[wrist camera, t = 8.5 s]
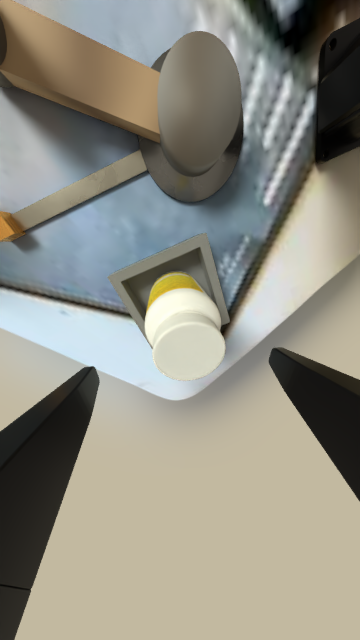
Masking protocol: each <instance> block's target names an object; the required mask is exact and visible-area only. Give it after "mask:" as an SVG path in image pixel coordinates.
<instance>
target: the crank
mask: <svg viewBox="0 0 360 640" xmlns="http://www.w3.org/2000/svg"><path fill="white" fill-rule="evenodd" d="M0 86H1V87H13V86H16V87H18V88H21V89H23V90H26V91H28V92H31V93H33V94H36V95H39V96H41V97H44V98H46V99H49V100H51V101H54V102H56V103H59V104H61V105H64V106H66V107H69V108H71V109H74V110H77V111H79V112H82V113H84V114H87V115H89V116H92V117H94V118H97V119H99V120H102V121H104V122H107V123H109V124H112V125H115V126H117V127H120V128H122V129H125V130H127V131H130V132H132V133H135V134H137V135H140V136H142V137H145V138H148V139H150V140H153V141H155V142H158V143H160V145H161V148H162V151H163V153H164V156H165V157H166V159H167V161H168V162H169V164H170V165H171V166H172V167H173V168H174V169H175V170H176V171H177V172H179V173H180V174H182V175H184V176H188V177H197V176H201V175H203V174H205V173H206V172H208V171H209V170H210V169H211V168H212V167H213V166H214V165H215V163H216V162H217V161H218V159H219V158H220V156H221V155H222V153H223V152H224V151H225V149H226V148H227V146H228V145H229V143H230V142H231V140H232V138H233V136H234V133H235V131H236V128H237V125H238V121H239V117H240V110H241V84H240V78H239V73H238V70H237V66H236V64H235V61H234V59H233V57H232V55H231V53H230V51H229V50H228V48H227V47H226V45H225V44H224V43H223V42H222V41H221V40H220V39H219V38H217V37H216V36H214V35H213V34H210V33H208V32H203V31H195V32H191V33H188V34H186V35H184V36H183V37H182V38H180V39H179V40H178V41H177V42H176V43H175V44H174V45H173V46H172V48H171V49H170V51H169V52H168V54H167V56H166V58H165V60H164V63H163V66H162V69H161V73H160V72H158V71H156V70H154V69H151V68H149V67H147V66H145V65H143V64H141V63H139V62H137V61H135V60H133V59H131V58H129V57H127V56H125V55H123V54H121V53H119V52H117V51H115V50H113V49H111V48H109V47H107V46H105V45H102V44H100V43H98V42H96V41H94V40H92V39H90V38H88V37H86V36H84V35H82V34H80V33H78V32H76V31H74V30H72V29H70V28H68V27H66V26H64V25H62V24H60V23H58V22H56V21H54V20H51V19H49V18H47V17H45V16H43V15H41V14H39V13H37V12H35V11H33V10H31V9H29V8H27V7H25V6H23V5H21V4H19V3H17V2H15V1H13V0H0Z"/></svg>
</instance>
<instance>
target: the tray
mask: <svg viewBox="0 0 360 640" xmlns="http://www.w3.org/2000/svg"><path fill="white" fill-rule="evenodd" d="M170 271H182V272H185V273H187V274H189V275H191V276H192V277H193V278H194V279H195V280H196V281H197V282H198V284H199V285H200V286H201V287H202V289H203V290H204V291H205V292H206V294H207V295H208V296H209V297H210V298H211V299H212V301H213V302H214V303H215V305H216V306H217V308H218V310H219V313H220V317H221V325H224V324H227V323H229V322H230V320H229V316H228V312H227V309H226V305H225V301H224V297H223V293H222V290H221V286H220V282H219V278H218V275H217V271H216V267H215V263H214V260H213V256H212V252H211V248H210V245H209V241H208V237H207V233H202V234H198V235H196V236H194V237H192V238H189V239H187V240H185V241H183V242H181V243H178V244H176V245H174V246H172V247H169V248H167V249H165V250H163V251H160V252H158V253H156V254H154V255H151V256H149V257H147V258H145V259H143V260H140V261H138V262H136V263H134V264H131V265H129V266H127V267H125V268H122V269H120V270H118V271H116V272H114V273H112V274H111V275H109V276H108V279H109V281H110V282H111V284H112V285H113V287H114V289H115V290H116V292H117V293H118V295H119V297H120V298H121V300H122V301H123V303H124V305H125V306H126V308H127V309H128V311H129V313H130V314H131V316H132V317H133V319H134V321H135V322H136V324H137V325H138V327H139V329H140V330H141V332H142V333H143V335H144V337H145V338H146V340H147V341H148V339H147V337H146V333H145V316H146V311H147V306H148V301H149V296H150V291H151V288H152V286H153V284H154V283H155V281H156V280H157V279H158V278H159V277H160V276H161V275H163V274H165V273H167V272H170ZM148 343H149V341H148ZM149 345H150V346H151V344H150V343H149ZM151 348H152V349H153V347H152V346H151Z"/></svg>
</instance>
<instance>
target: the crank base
mask: <svg viewBox="0 0 360 640" xmlns="http://www.w3.org/2000/svg"><path fill="white" fill-rule="evenodd" d="M170 49H171V48H170ZM170 49H169V50H167V51H166V52H164V53H163V54H162V55H161V56H160V57H159V58H158V59H157V60H156V61H155V63H154V64H153V65H152V67H151V69H154V70H156V71H158V72H160V73H161V69H162V66H163V63H164V60H165V58H166V56H167V54H168V52H169V51H170ZM242 137H243V110H242V104H241V110H240V117H239V121H238V125H237V128H236V131H235V133H234V136H233V138H232V140H231V142H230V143H229V145H228V146H227V148H226V149H225V151H224V152H223V153H222V155H221V156H220V158H219V159H218V161H217V162H216V163H215V165H214V166H213V167H212V168H211V169H210V170H209V171H208V172H206V173H205V174H203V175H201V176H197V177H188V176H184V175H182V174H180V173H179V172H177V171H176V170H175V169H174V168H173V167H172V166H171V165H170V164H169V162H168V161H167V159H166V157H165V156H164V153H163V151H162V148H161V145H160V143H158V142H155V141H153V140H150V139H148V138H145V137H142V136H140V135H138V141H139V145H140V150H141V152H140V150H138V151H136V152H134V153H132V154H130V155H128V156H126V157H124V158H122V159H120V160H118V161H116V162H114V163H112V164H110V165H109V166H107V167H105V168H103V169H101V170H99V171H97V172H95V173H93V174H91V175H89V176H87V177H85V178H83V179H81V180H79V181H77V182H75V183H73V184H71V185H69V186H67V187H65V188H63V189H61V190H59V191H57V192H55V193H53V194H51V195H49V196H47V197H45V198H43V199H42V200H40V201H38V202H36V203H34V204H32V205H30V206H28V207H26V208H24V209H22V210H20V211H18V212H16V213H14V214H12V215H11V214H10V213H7V212H2V211H0V242H11V241H13V240H15V239H17V238H19V237H21V236H23V235H25V234H26V233H25V232H24V231H26V230H28V229H30V228H32V227H34V226H36V225H38V224H40V223H42V222H44V221H46V220H48V219H51V218H53V217H55V216H57V215H59V214H61V213H63V212H65V211H67V210H69V209H71V208H73V207H75V206H77V205H79V204H81V203H83V202H85V201H87V200H89V199H91V198H93V197H95V196H97V195H99V194H101V193H103V192H105V191H107V190H109V189H111V188H113V187H115V186H117V185H119V184H121V183H123V182H125V181H127V180H129V179H131V178H133V177H135V176H138V175H140V174H142V173H144V172H146V171H147V170H148V172H149V173H150V175H151V177H152V178H153V180H154V181H155V183H156V184H157V185H158V186H159V187H160V188H161V189H162V190H163V191H164V192H165V193H166V194H168V195H169V196H171V197H173V198H175V199H177V200H180V201H184V202H197V201H201V200H204V199H206V198H208V197H210V196H211V195H213V194H214V193H215V192H217V191H218V190H219V189H220V188H221V187H222V186H223V185H224V183H225V182H226V181H227V179H228V178H229V176H230V175H231V173H232V171H233V169H234V167H235V165H236V162H237V159H238V156H239V153H240V149H241V144H242ZM146 167H147V168H146Z"/></svg>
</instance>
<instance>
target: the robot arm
mask: <svg viewBox="0 0 360 640" xmlns="http://www.w3.org/2000/svg"><path fill="white" fill-rule="evenodd" d="M329 45H330V46H331V51H330V50H329ZM359 146H360V18H359V19H357V20H355V21H353V22H351V23H350V24H348V25H346V26H344V27H342V28H340V29H338V30H336V31H334V32H333V33H332V34H330V36H329V37H328V38H327V39H326V41H325V42H324V43H323V45H322V47H321V50H320V64H319V91H318V119H317V146H316V162H317V163H318V164H322V163H324V162H326V161H328V160H330V159H333V158H335V157H337V156H339V155H341V154H344V153H346V152H348V151H350V150H352V149H355V148H357V147H359ZM324 153H325V156H324V157H323V154H324ZM269 364H270V366H271V368H272V370H273V372H274V373H275V375H276V377H277V378H278V381H279V382H280V384H281V386H282V388H283V389H284V391H285V392H286V394H287V396H288V397H289V399H290V400H291V401H292V403H293V405H294V406H295V407H296V409H297V410H298V412H299V413H300V415H301V416H302V418H303V419H304V421H305V422H306V424H307V425H308V426H309V428H310V429H311V431H312V432H313V434H314V435H315V437H316V438H317V440H318V441H319V443H320V444H321V445H322V447H323V448H324V450H325V451H326V453H327V454H328V456H329V457H330V459H331V460H332V462H333V463H334V465H335V466H336V467H337V469H338V470H339V472H340V473H341V475H342V476H343V478H344V479H345V481H346V482H347V484H348V485H349V487H350V488H351V489H352V491H353V492H354V493H355V495H356V497H357V498H358V500H359V501H360V380H358V379H356V378H353V377H351V376H349V375H347V374H344V373H341V372H339V371H337V370H334V369H332V368H330V367H327V366H325V365H323V364H320V363H318V362H315V361H313V360H311V359H308V358H306V357H304V356H301V355H299V354H296V353H294V352H292V351H289V350H287V349H284V348H281V347H278V348H273V349H272V351H271V354H270V357H269ZM98 386H99V377H98V374H97V371H96V369H95V367H93V366H91V367H84V368H83V369H81V370H80V371H79V372H77V373H76V374H75V375H74V376H72V377H71V378H70V379H68V380H67V381H66V382H65V383H63V384H62V385H61V386H59V387H58V388H57V389H55V390H54V391H53V392H51V393H50V394H49V395H47V396H46V397H45V398H43V399H42V400H41V401H40V402H38V403H37V404H36V405H34V406H33V407H32V408H31V409H29V410H28V411H27V412H25V413H24V414H23V415H21V416H20V417H19V418H17V419H16V420H15V421H13V422H12V423H11V424H10V425H8V426H7V427H6V428H4V429H3V430H2V431H0V640H14V639H15V636H16V633H17V630H18V627H19V624H20V622H21V619H22V616H23V613H24V610H25V607H26V604H27V601H28V598H29V595H30V592H31V590H30V589H31V588H32V586H33V583H34V580H35V578H36V575H37V572H38V569H39V566H40V563H41V560H42V558H43V554H44V552H45V549H46V546H47V543H48V540H49V537H50V534H51V532H52V529H53V526H54V523H55V520H56V517H57V514H58V511H59V509H60V506H61V503H62V500H63V497H64V494H65V491H66V488H67V485H68V483H69V480H70V477H71V474H72V471H73V468H74V465H75V462H76V460H77V457H78V454H79V451H80V448H81V445H82V442H83V439H84V437H85V434H86V431H87V428H88V425H89V422H90V419H91V416H92V412H93V408H94V404H95V399H96V395H97V391H98Z"/></svg>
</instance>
